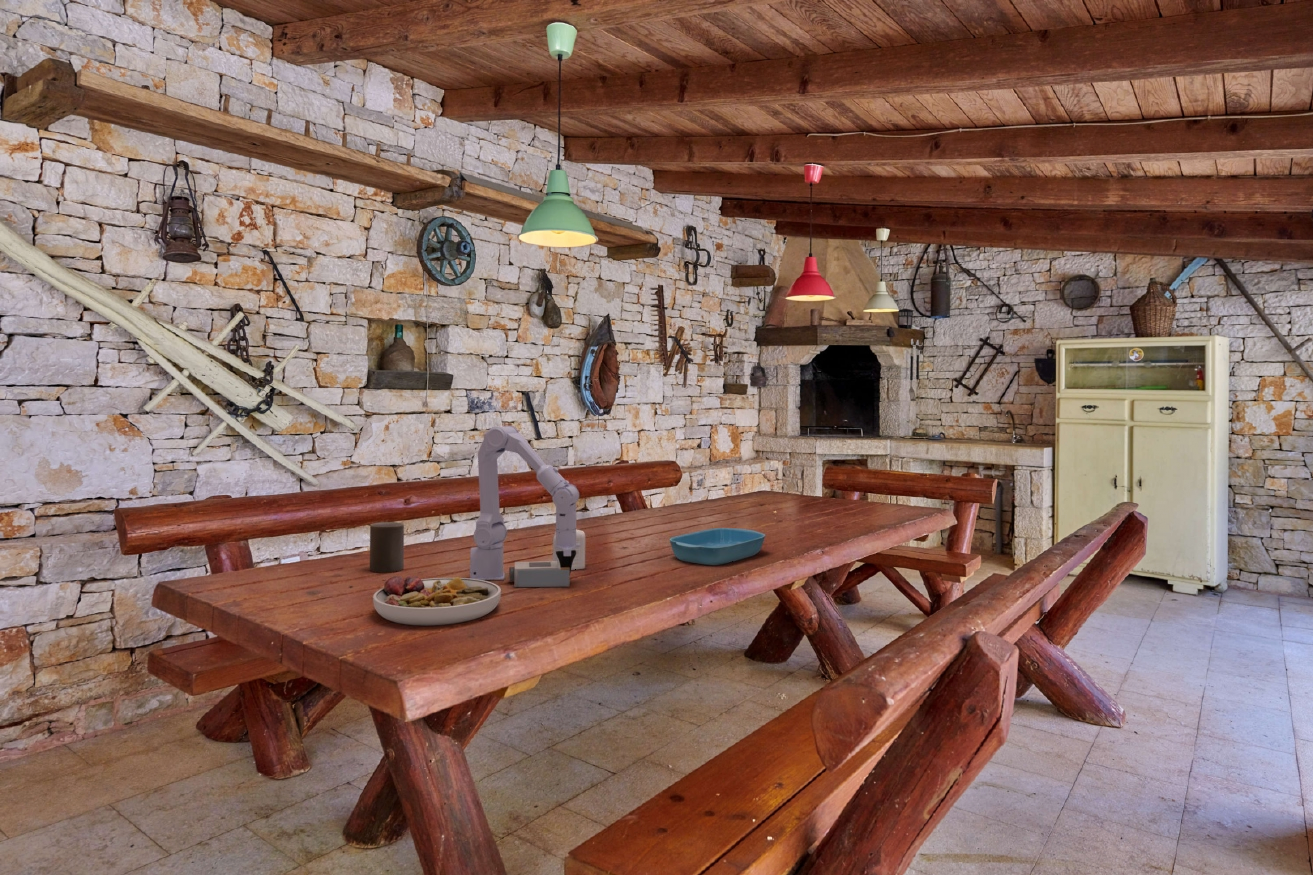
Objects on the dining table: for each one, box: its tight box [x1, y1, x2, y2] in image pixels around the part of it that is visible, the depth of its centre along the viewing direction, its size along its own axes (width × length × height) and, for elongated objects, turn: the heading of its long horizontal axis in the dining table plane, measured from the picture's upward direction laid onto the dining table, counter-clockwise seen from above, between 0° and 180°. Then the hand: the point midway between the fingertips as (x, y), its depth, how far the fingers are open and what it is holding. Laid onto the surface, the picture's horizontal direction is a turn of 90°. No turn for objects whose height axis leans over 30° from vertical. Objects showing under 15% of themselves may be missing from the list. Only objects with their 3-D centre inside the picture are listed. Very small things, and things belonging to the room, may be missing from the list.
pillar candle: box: [369, 519, 405, 574], centre depth 237 cm, size 10×10×15 cm
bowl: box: [372, 575, 502, 627], centre depth 193 cm, size 30×30×8 cm
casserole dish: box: [669, 527, 766, 566], centre depth 262 cm, size 37×22×7 cm, turn 140°
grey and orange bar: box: [513, 567, 571, 588], centre depth 219 cm, size 15×4×5 cm, turn 96°
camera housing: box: [508, 560, 558, 582], centre depth 223 cm, size 14×9×5 cm, turn 99°
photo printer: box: [552, 528, 586, 571], centre depth 240 cm, size 10×4×12 cm, turn 123°
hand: (565, 576), depth 222 cm, fingers closed
